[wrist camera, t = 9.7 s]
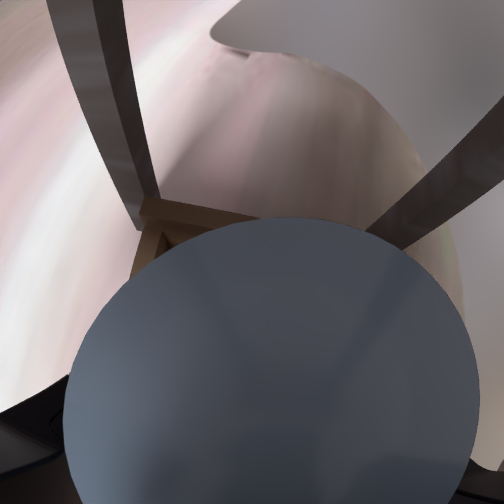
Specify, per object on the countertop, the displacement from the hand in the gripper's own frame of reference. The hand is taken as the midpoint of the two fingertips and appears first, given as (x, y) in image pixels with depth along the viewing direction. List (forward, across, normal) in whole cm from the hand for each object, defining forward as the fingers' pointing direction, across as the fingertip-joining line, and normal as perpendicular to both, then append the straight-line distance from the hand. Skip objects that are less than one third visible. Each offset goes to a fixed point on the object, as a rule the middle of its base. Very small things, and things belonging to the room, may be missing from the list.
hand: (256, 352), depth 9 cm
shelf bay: (+6, 0, +6) cm, 9 cm away
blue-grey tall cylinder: (+4, 0, +6) cm, 7 cm away
